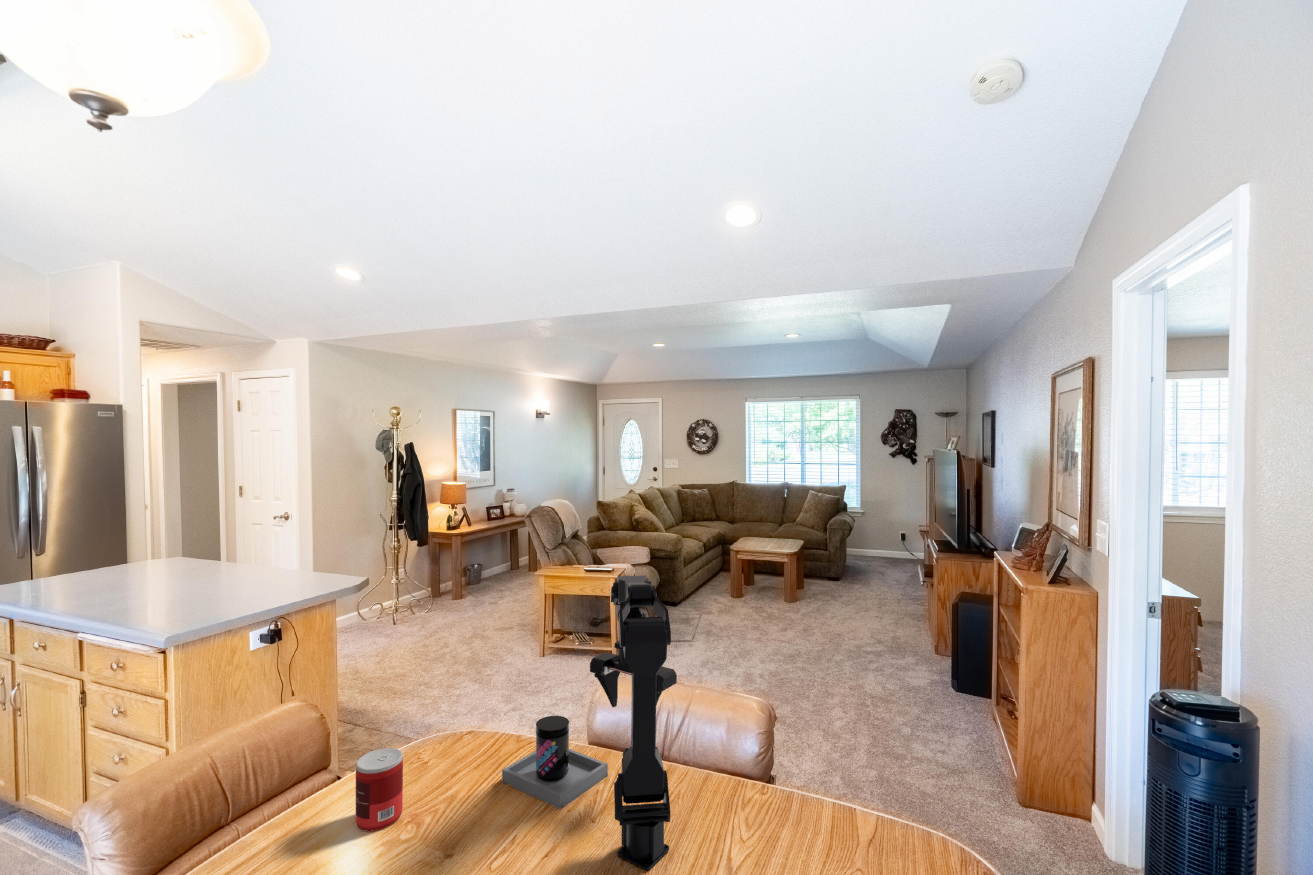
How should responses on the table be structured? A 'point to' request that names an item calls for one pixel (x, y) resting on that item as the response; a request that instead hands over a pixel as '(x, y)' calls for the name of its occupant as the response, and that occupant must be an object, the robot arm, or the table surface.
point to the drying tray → (559, 792)
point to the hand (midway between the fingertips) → (631, 712)
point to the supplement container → (552, 748)
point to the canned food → (379, 789)
